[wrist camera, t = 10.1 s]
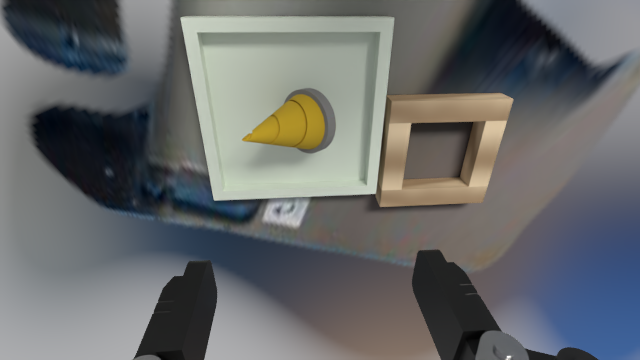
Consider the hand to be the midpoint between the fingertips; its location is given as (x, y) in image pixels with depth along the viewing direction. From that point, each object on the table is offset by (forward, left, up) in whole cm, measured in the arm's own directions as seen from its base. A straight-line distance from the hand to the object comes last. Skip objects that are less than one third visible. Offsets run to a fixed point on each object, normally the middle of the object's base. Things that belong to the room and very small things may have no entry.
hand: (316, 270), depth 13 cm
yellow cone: (+1, 0, -20) cm, 20 cm away
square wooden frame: (+4, +13, -20) cm, 25 cm away
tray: (0, -1, -20) cm, 20 cm away
